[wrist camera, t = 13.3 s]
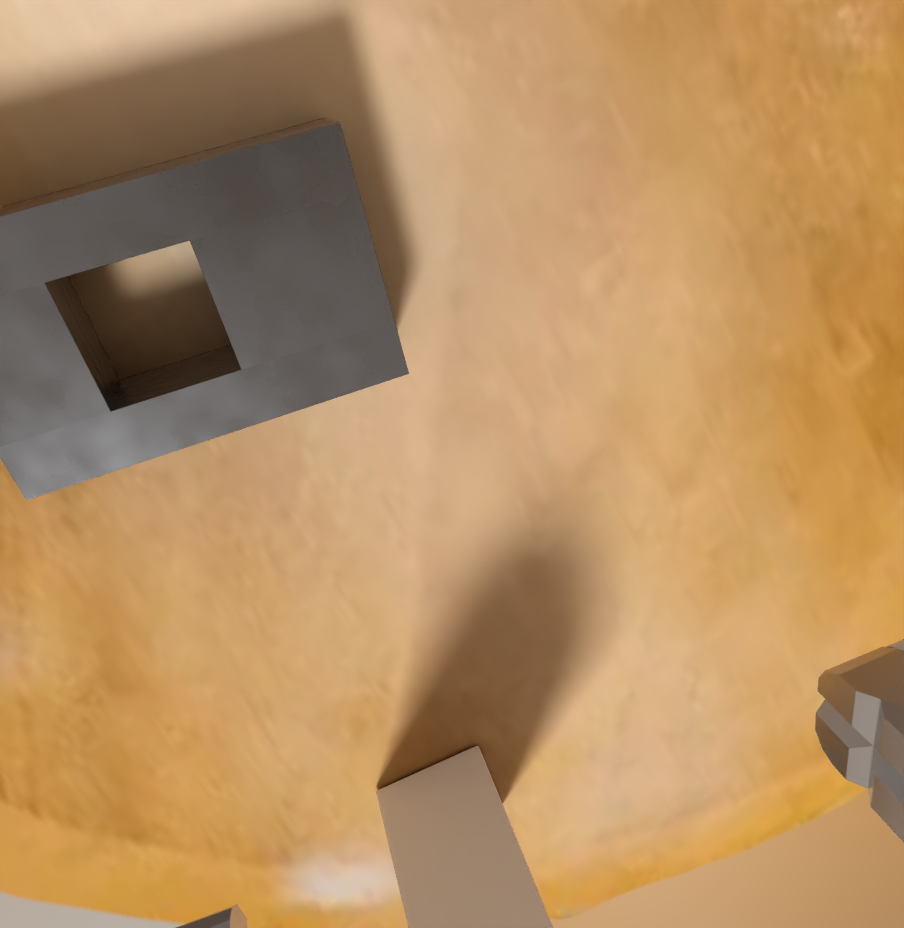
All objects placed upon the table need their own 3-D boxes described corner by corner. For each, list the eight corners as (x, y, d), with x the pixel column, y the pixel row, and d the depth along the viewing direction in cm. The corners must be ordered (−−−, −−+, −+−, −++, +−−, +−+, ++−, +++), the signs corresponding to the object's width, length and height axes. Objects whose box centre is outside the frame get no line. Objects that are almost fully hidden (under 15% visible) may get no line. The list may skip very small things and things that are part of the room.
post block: (-92, 233, 28) (-128, 252, 25) (326, 117, 30) (339, 122, 27) (42, 461, 33) (26, 500, 30) (391, 348, 35) (409, 373, 32)
